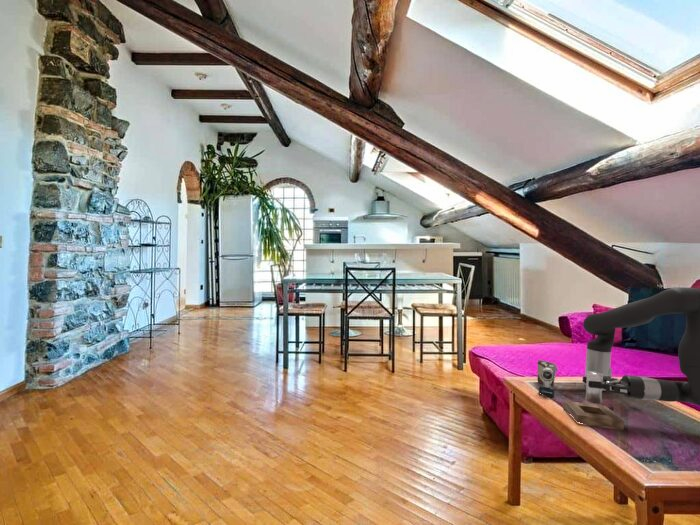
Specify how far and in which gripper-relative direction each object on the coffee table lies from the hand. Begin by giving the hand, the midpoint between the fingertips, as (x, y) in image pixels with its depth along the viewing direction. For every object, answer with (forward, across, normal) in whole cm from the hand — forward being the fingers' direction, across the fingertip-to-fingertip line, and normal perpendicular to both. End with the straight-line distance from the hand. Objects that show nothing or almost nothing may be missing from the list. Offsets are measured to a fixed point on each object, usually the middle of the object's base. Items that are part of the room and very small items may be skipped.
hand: (586, 381), depth 134 cm
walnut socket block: (-3, 0, +13) cm, 14 cm away
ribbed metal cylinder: (-3, 0, +7) cm, 7 cm away
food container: (+2, -35, +13) cm, 38 cm away
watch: (+6, -22, +13) cm, 27 cm away
